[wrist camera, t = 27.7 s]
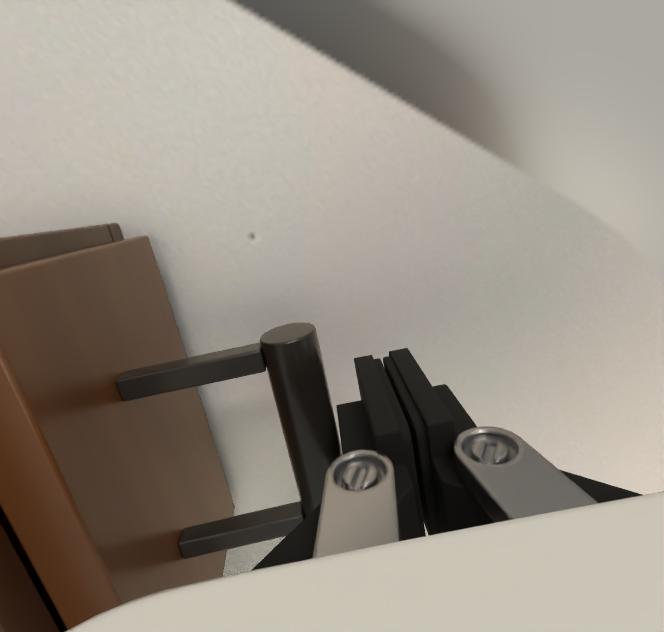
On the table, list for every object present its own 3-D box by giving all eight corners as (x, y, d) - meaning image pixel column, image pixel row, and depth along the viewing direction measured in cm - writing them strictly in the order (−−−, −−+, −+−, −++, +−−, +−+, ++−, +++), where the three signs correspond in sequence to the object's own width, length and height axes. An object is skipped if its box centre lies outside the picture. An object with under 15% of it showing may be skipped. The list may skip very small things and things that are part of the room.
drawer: (290, 207, 14) (292, 215, 6) (348, 481, 17) (394, 705, 9) (-271, 316, 13) (-1080, 484, 5) (-93, 581, 16) (-426, 915, 9)
